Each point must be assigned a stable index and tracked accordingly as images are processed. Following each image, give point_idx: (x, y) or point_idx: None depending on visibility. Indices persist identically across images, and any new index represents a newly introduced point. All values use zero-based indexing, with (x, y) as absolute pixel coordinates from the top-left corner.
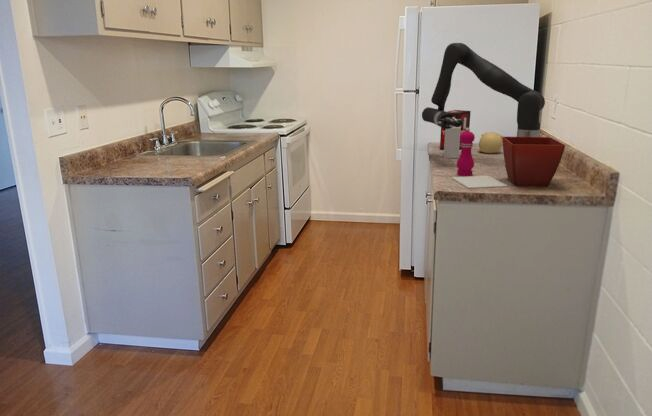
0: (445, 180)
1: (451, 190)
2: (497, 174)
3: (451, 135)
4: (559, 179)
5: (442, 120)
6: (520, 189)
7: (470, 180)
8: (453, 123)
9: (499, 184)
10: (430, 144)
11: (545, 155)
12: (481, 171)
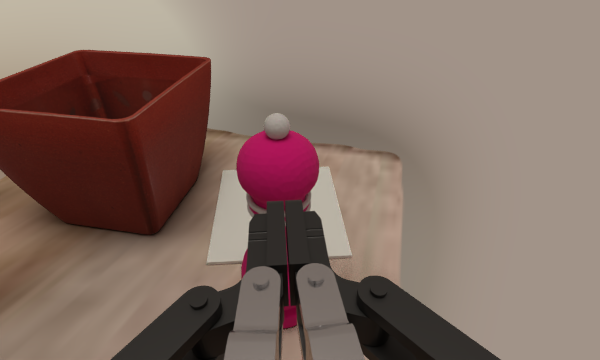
0: (375, 233)
1: (372, 162)
2: (143, 292)
3: None
4: (7, 215)
5: (476, 347)
6: (208, 157)
7: None
8: (324, 245)
9: (237, 179)
10: None
11: (130, 82)
12: None
